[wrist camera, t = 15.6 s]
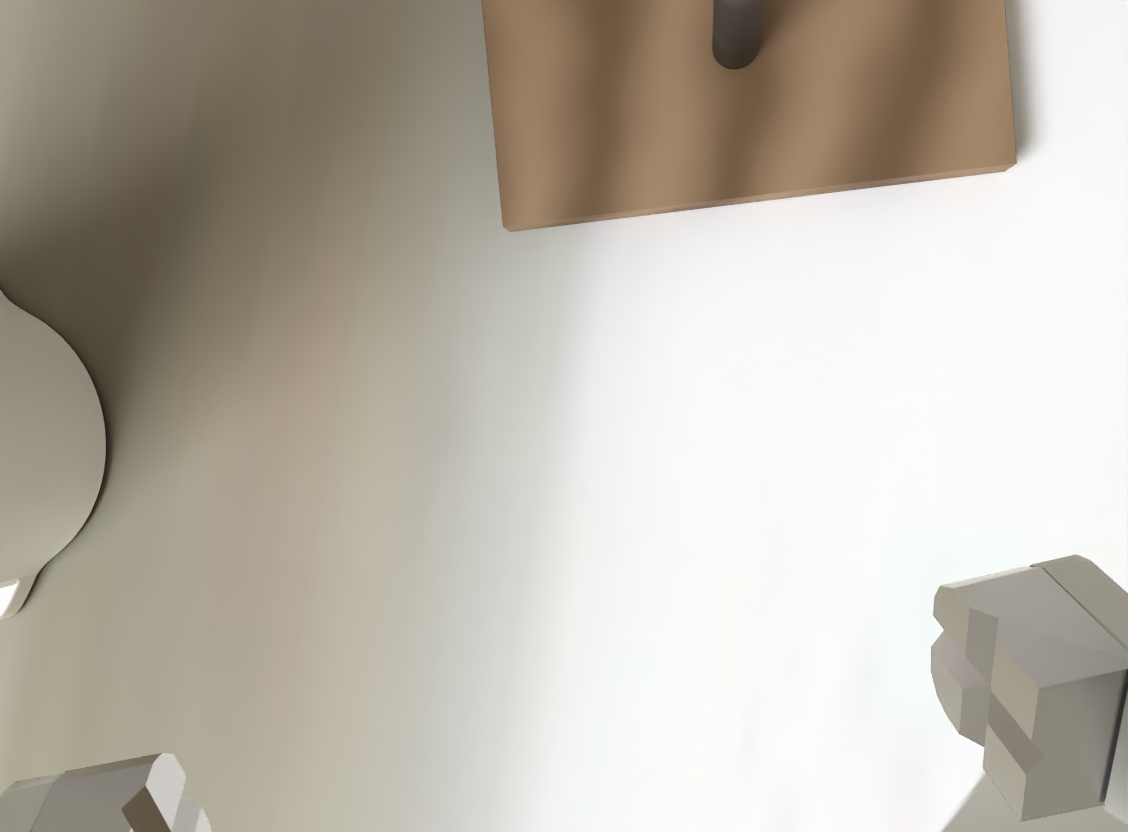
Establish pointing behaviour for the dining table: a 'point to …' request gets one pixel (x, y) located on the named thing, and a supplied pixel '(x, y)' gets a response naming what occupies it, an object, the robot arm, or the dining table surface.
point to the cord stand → (738, 101)
